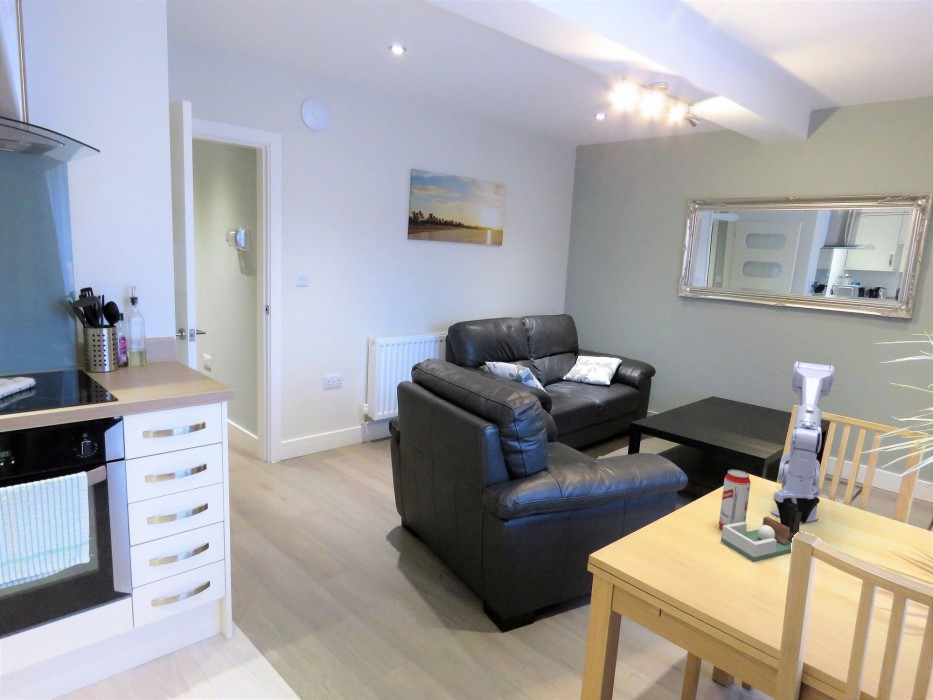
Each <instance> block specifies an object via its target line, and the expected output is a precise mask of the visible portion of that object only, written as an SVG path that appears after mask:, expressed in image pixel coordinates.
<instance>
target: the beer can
mask: <svg viewBox="0 0 933 700" xmlns="http://www.w3.org/2000/svg"><path fill="white" fill-rule="evenodd" d="M723 481H724V482H723V486H722V487H723V489H722V496H721V504H720V511H719V519H718V525H719V527H720V529H721V528H723V526H724V525H729V524H734V523H739V522H745V523H746V522H747V513H748V505H749V498H750V497H749V496H750V490H751V489H750V488H751V482H752V481H751V479H750V474H749V473H748V472H746V471H745V470H744V471H743V470H739V469H729V470H727V474H725V477H724V480H723Z"/></svg>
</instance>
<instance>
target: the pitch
mask: <svg viewBox="0 0 933 700" xmlns="http://www.w3.org/2000/svg"><path fill="white" fill-rule="evenodd" d="M747 525H748V523H746V522H739V523H734V524H729V525H724V526H723V528H722V529H721V537H720V542H721V543H722V542H723V543H722V544H724V545H725V544H726V545H725V546H727V547H729V548H730V549H732V550H734V551H735V552H737V553H738V554H740V555H742V556H743V557H745V558H746V559H748V560H750V561H751V562H757V561H758V562H759V561H763V560H766V559H771V558H774V557H778V556H784V555H788V554H791V543H792V539H788V543H785V544H783V543H781V542H779V541H777V540H776V539H774V538H769V539H765V540H761V539H760V538H759V536H758V533H757V531H758V529H753V530H750V531H747V527H748V526H747Z"/></svg>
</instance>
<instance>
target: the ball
mask: <svg viewBox="0 0 933 700" xmlns="http://www.w3.org/2000/svg"><path fill="white" fill-rule="evenodd" d="M762 525H763V524H762ZM762 525H760V526H759V527H758V528H757V530H758V531H757V533H758V536H759V538H760V539H761V540H765V539H769V538H775V531H774V530H773V528H772V527H770V526H768V525H763V526H762Z"/></svg>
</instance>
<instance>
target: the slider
mask: <svg viewBox="0 0 933 700" xmlns="http://www.w3.org/2000/svg"><path fill="white" fill-rule="evenodd" d="M801 514H802V512H801V511H799V510H797V509H796V510H795V511H794V513H793V516H792V520H791V524H790V526H789V527H787V526H785V525H783V524H781V523H780V522H779V521H778V520H776V519H773V518H772V517H769V516H765V517H763V519H762V525H761V526H763V525H768V526H770V527H772V528H773V530H774V531H775V538H774V539H776V540H777V541H779V542H781V543H783V544H785V543H788V539H792V538H793V537H794V535H795V534H796V533H797V532H798V533H800V526H801V524H800V521H801Z"/></svg>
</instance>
